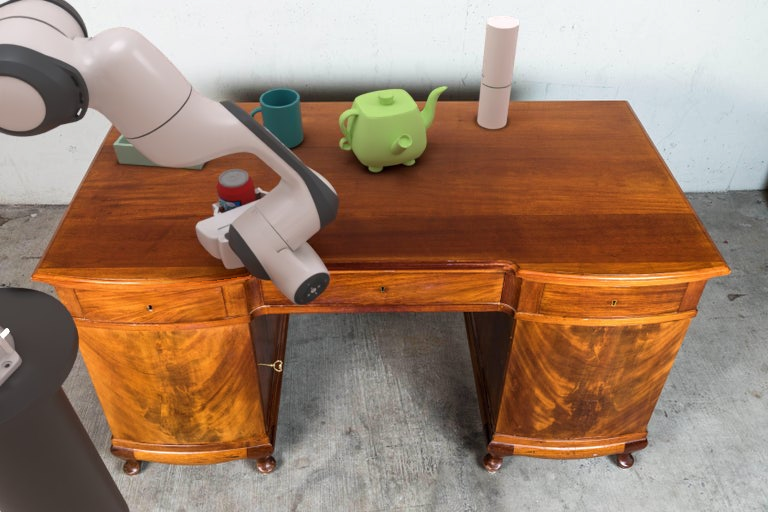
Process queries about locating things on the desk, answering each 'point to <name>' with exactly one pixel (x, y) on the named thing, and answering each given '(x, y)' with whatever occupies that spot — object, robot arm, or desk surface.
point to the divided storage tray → (135, 154)
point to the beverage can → (235, 189)
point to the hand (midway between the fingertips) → (235, 198)
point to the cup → (282, 115)
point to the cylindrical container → (497, 71)
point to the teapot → (387, 127)
